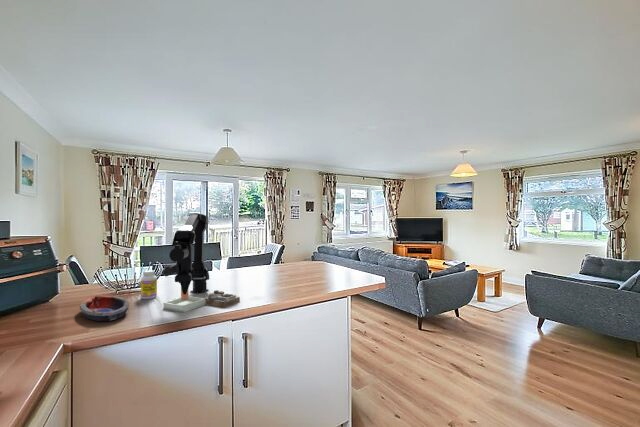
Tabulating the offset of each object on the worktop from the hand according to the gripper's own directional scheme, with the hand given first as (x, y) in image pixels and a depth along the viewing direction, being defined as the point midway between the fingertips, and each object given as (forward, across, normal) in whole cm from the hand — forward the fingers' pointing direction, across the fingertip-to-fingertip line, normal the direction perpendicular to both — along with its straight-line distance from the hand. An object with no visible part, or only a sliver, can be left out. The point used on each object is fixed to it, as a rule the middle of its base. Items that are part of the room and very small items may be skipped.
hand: (184, 293), depth 129 cm
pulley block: (+6, -1, +15) cm, 16 cm away
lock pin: (+2, 0, 0) cm, 3 cm away
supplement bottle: (+6, -20, -18) cm, 28 cm away
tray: (+6, 0, 0) cm, 6 cm away
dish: (+6, -2, -30) cm, 31 cm away
